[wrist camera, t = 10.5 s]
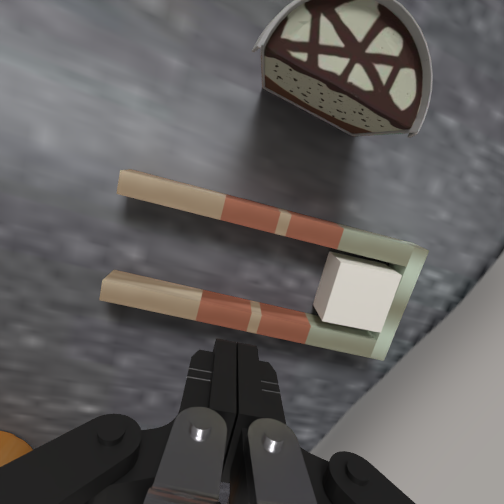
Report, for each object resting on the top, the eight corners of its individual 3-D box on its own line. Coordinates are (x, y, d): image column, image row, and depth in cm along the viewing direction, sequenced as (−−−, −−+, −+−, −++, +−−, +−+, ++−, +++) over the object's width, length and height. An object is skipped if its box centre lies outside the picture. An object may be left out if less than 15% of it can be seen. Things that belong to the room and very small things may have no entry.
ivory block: (328, 250, 34) (340, 262, 30) (383, 262, 35) (402, 275, 31) (312, 303, 35) (322, 321, 32) (364, 314, 36) (380, 332, 32)
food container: (400, 78, 30) (480, 39, 20) (366, 143, 31) (425, 135, 21) (278, 7, 28) (301, -75, 18) (246, 80, 29) (253, 40, 20)
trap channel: (131, 169, 31) (120, 170, 28) (412, 243, 34) (429, 250, 31) (110, 288, 33) (99, 300, 31) (371, 345, 37) (383, 360, 34)
